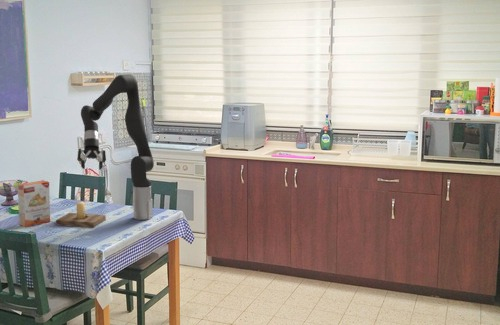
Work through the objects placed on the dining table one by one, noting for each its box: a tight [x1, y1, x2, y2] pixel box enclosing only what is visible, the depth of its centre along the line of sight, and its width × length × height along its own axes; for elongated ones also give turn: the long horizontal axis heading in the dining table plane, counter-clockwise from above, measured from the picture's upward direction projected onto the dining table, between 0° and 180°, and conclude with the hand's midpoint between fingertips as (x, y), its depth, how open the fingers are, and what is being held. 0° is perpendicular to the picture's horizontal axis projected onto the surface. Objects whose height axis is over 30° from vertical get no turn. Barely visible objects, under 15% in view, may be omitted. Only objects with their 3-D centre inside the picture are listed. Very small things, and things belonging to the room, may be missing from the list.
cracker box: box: [17, 179, 51, 228], centre depth 274 cm, size 14×6×21 cm, turn 143°
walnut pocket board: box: [55, 212, 107, 228], centre depth 279 cm, size 20×14×2 cm
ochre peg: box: [76, 201, 86, 219], centre depth 279 cm, size 4×4×10 cm
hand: (91, 168), depth 288 cm, fingers open, 8 cm apart
